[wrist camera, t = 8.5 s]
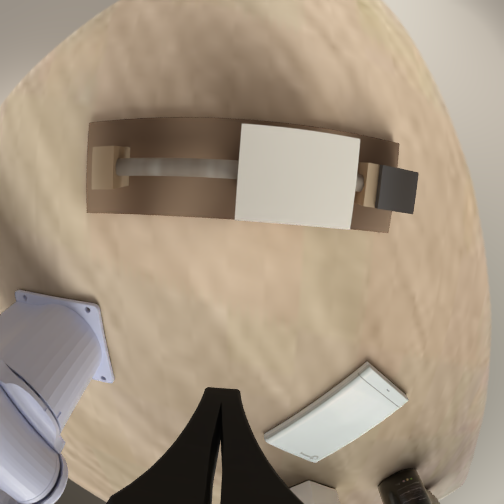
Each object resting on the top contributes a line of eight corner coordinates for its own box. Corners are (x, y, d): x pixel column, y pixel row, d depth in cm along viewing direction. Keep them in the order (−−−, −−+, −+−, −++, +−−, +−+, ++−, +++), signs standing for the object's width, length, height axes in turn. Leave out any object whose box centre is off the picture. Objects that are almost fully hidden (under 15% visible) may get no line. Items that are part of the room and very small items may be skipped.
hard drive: (316, 464, 25) (410, 402, 23) (263, 442, 23) (371, 368, 21) (313, 453, 27) (404, 392, 24) (263, 429, 25) (364, 356, 23)
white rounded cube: (237, 203, 17) (234, 220, 12) (242, 135, 16) (241, 123, 11) (321, 210, 17) (349, 229, 12) (328, 144, 16) (360, 139, 11)
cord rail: (92, 210, 18) (64, 221, 14) (94, 123, 16) (66, 118, 13) (383, 230, 19) (408, 244, 15) (393, 143, 17) (422, 142, 13)
